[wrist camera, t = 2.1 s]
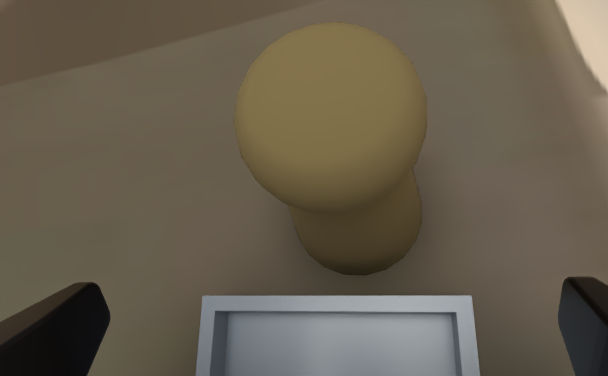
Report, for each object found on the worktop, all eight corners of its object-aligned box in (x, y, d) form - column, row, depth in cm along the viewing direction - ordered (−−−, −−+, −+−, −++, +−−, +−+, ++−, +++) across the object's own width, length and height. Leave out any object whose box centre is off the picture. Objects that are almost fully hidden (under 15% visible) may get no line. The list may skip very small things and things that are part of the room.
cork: (289, 162, 22) (199, 10, 12) (410, 143, 21) (426, -40, 11) (299, 282, 20) (198, 224, 10) (433, 267, 19) (480, 185, 9)
